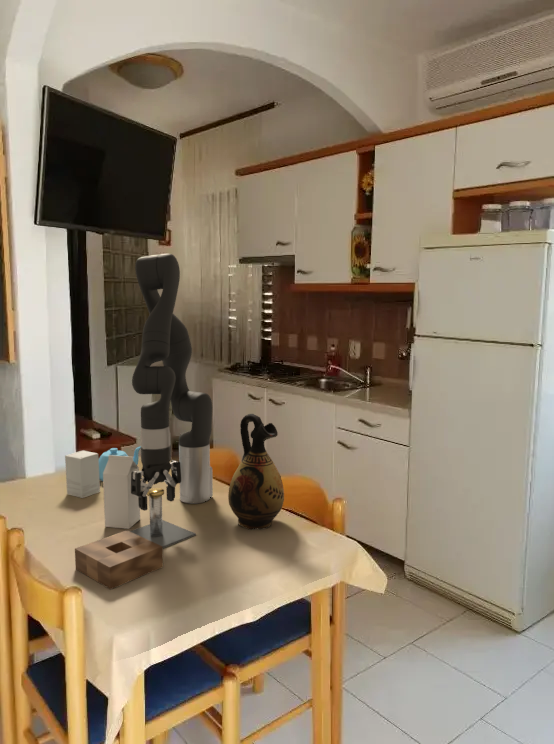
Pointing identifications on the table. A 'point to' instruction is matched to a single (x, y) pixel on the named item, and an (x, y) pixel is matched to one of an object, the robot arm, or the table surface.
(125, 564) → the walnut block
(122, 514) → the milk carton
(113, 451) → the teapot
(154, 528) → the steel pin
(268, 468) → the ceramic jug
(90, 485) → the supplement box
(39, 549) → the table surface
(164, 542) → the rubber mat
